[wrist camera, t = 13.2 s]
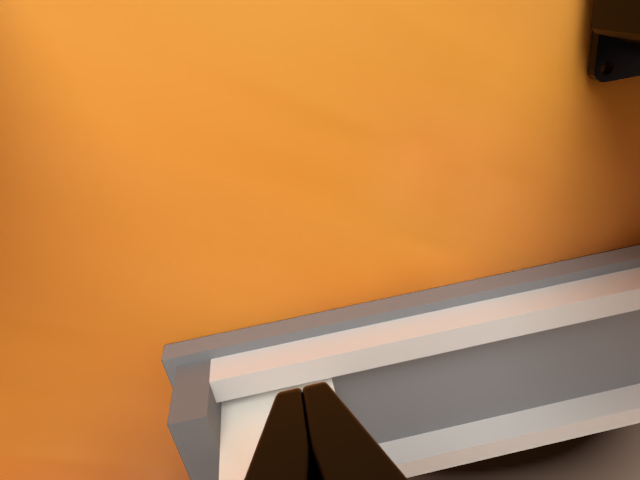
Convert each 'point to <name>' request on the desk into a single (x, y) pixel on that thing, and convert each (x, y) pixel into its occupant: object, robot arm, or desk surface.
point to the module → (246, 429)
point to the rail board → (439, 365)
